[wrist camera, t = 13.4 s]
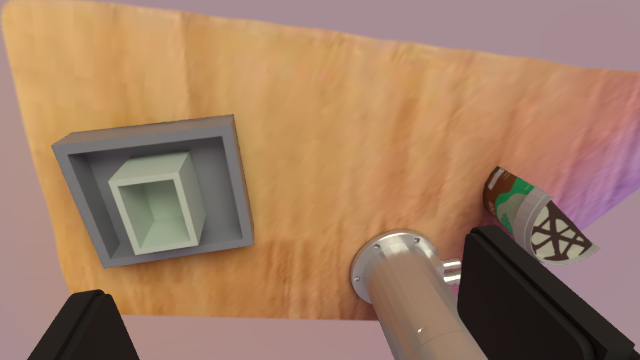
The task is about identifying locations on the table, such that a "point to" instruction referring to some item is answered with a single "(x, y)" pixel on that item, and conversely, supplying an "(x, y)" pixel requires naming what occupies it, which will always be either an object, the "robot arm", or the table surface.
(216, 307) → the table surface
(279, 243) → the table surface
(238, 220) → the big crate
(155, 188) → the small crate
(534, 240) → the food container
